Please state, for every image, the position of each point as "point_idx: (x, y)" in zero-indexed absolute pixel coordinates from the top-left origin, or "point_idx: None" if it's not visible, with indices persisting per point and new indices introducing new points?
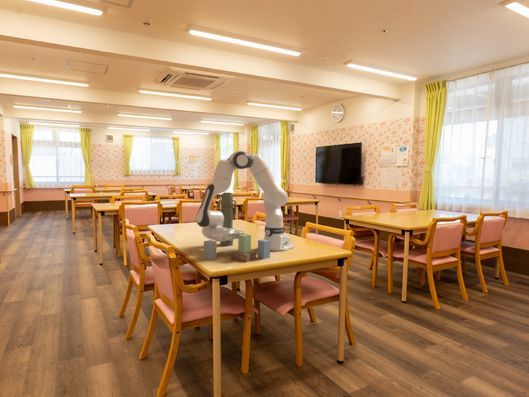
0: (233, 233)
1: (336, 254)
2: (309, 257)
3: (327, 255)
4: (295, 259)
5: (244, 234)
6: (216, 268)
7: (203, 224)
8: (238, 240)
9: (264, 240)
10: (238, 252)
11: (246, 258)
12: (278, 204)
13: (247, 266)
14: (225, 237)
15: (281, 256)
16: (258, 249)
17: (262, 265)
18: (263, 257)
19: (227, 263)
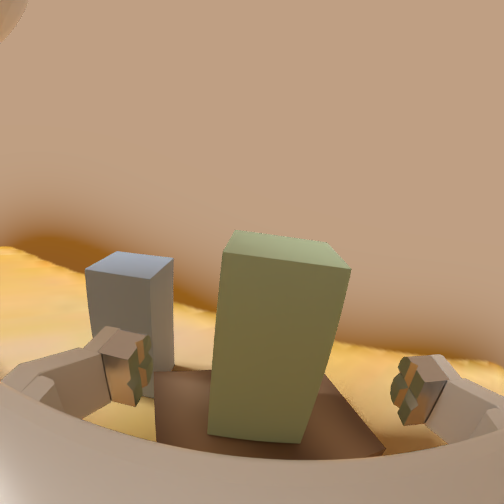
0: (220, 458)
1: (21, 253)
2: (68, 277)
3: (34, 260)
4: None
5: (269, 248)
6: (488, 389)
7: None
8: (333, 339)
9: (129, 262)
10: (303, 439)
11: None
12: (3, 34)
13: (355, 354)
14: (499, 412)
15: (78, 326)
16: (155, 345)
17: None
18: (173, 358)
19: (425, 426)
